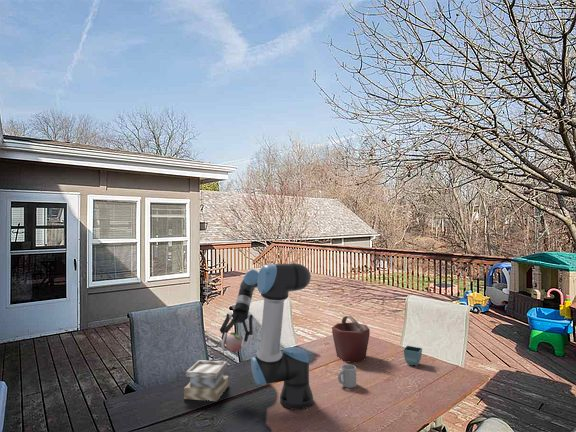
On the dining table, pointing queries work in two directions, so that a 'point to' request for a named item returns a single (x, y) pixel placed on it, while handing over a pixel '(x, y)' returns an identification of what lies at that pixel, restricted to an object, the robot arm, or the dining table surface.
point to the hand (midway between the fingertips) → (232, 347)
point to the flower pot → (412, 355)
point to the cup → (347, 376)
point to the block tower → (206, 380)
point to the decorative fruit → (234, 342)
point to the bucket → (351, 340)
